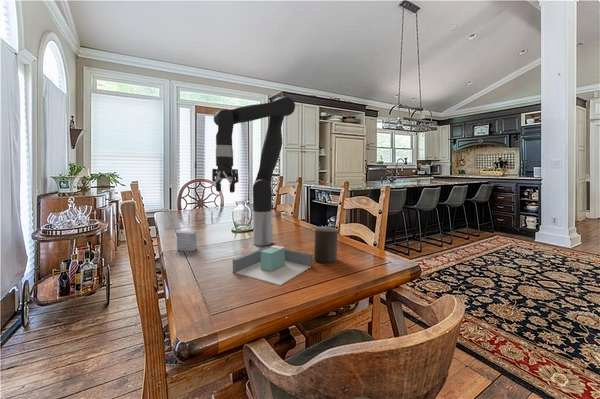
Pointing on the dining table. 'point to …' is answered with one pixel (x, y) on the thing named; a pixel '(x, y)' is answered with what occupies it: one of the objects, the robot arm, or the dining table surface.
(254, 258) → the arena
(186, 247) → the medicine box
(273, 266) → the teal block
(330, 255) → the pillar candle
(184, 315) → the dining table surface
